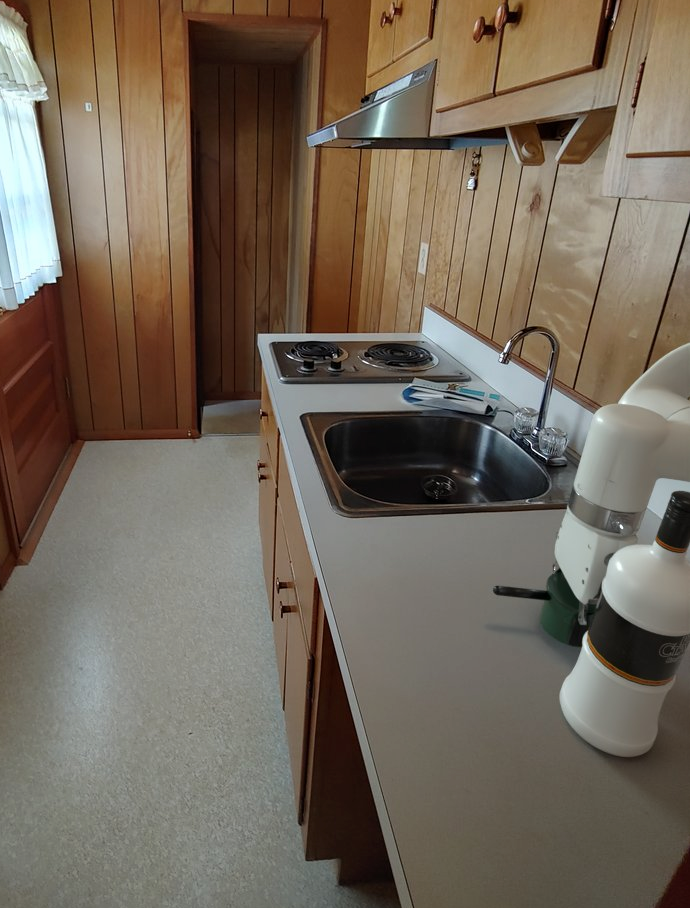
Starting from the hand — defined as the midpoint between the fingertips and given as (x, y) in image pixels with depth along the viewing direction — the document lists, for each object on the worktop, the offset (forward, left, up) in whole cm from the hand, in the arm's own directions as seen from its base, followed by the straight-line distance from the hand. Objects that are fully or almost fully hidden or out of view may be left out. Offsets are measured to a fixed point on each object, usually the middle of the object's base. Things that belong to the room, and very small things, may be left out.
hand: (569, 619), depth 72 cm
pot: (+3, 0, -1) cm, 3 cm away
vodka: (0, +12, -3) cm, 12 cm away
